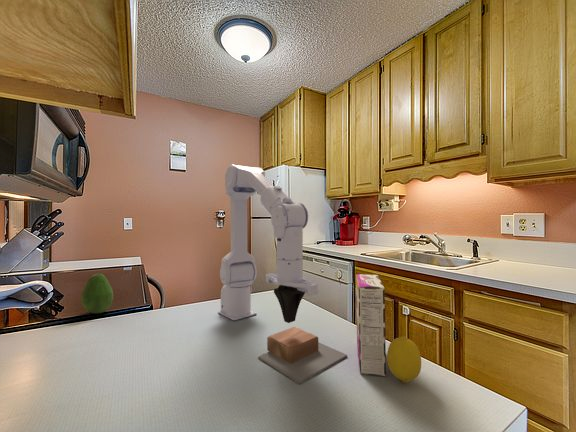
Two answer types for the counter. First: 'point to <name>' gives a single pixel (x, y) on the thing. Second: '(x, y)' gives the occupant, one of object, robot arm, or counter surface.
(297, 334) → the wooden block
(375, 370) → the candy bar box
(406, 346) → the lemon
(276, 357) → the mat
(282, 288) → the robot arm
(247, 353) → the counter surface
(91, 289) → the avocado
